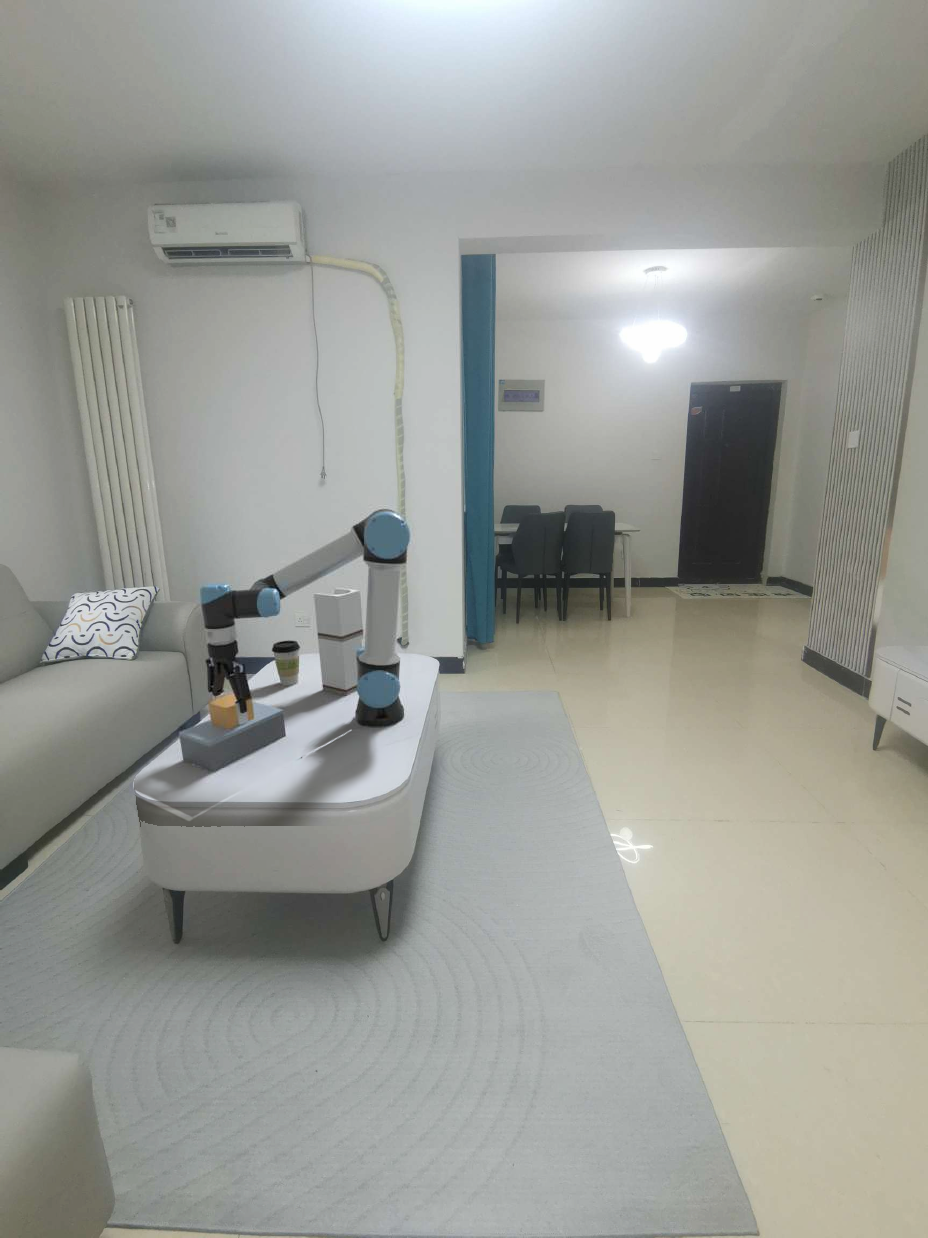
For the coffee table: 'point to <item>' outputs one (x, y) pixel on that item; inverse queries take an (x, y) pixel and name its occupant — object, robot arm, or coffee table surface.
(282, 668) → the coffee cup
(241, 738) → the tub
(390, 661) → the robot arm
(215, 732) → the lid
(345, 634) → the tall white vase
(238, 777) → the coffee table surface
